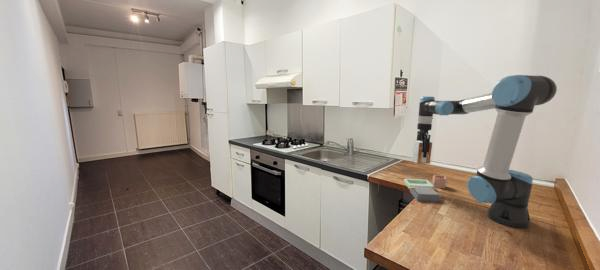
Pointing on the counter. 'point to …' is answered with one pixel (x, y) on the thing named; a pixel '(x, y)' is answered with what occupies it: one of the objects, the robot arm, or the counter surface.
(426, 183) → the mint green tray
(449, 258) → the counter surface
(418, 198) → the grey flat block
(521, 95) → the robot arm
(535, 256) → the counter surface
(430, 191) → the grey flat square panel
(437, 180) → the cup
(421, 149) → the small box
